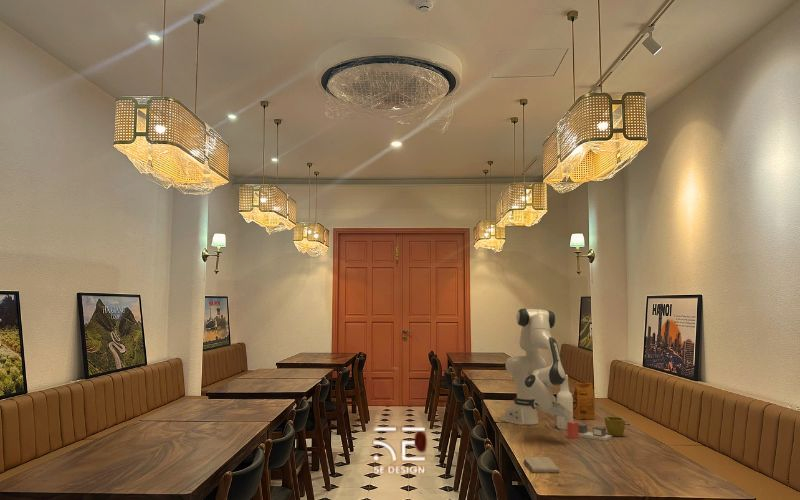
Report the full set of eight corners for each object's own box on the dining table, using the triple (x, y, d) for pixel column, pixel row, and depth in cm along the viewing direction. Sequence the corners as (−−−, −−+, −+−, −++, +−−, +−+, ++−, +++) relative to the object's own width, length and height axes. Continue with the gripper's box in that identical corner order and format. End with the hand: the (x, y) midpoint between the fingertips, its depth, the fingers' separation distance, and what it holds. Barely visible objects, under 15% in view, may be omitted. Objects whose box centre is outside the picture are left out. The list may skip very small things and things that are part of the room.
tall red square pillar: (572, 438, 293) (572, 423, 294) (567, 437, 296) (567, 421, 297) (578, 438, 294) (578, 422, 295) (573, 436, 298) (572, 421, 299)
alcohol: (571, 427, 321) (570, 374, 324) (574, 430, 312) (573, 376, 315) (555, 426, 322) (555, 373, 324) (558, 430, 313) (557, 375, 316)
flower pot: (621, 433, 306) (620, 416, 307) (626, 437, 297) (625, 420, 298) (604, 433, 307) (604, 416, 308) (608, 436, 298) (608, 419, 299)
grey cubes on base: (569, 434, 301) (568, 424, 302) (574, 432, 308) (574, 422, 308) (606, 441, 289) (606, 430, 289) (611, 438, 295) (611, 427, 295)
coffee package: (571, 416, 351) (570, 381, 353) (590, 416, 351) (590, 381, 353) (576, 420, 341) (575, 383, 343) (596, 420, 341) (595, 383, 343)
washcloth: (548, 462, 250) (548, 455, 251) (560, 474, 233) (560, 467, 233) (522, 462, 250) (522, 455, 251) (532, 474, 232) (532, 466, 233)
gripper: (564, 399, 282) (579, 417, 285) (537, 393, 300) (552, 410, 303) (557, 409, 279) (572, 427, 283) (531, 402, 298) (546, 419, 301)
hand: (562, 418), depth 293 cm, fingers open, 8 cm apart
